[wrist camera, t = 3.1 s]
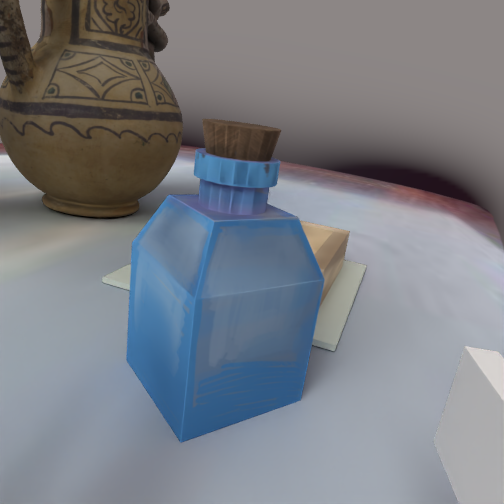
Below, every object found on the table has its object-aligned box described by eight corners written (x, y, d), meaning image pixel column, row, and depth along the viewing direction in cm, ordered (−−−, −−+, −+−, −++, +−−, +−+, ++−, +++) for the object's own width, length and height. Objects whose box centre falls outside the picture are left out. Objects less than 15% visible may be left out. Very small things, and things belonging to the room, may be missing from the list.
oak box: (142, 275, 31) (145, 231, 30) (215, 235, 42) (218, 202, 41) (311, 322, 28) (320, 275, 27) (342, 266, 39) (349, 231, 38)
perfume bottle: (231, 337, 26) (260, 122, 22) (300, 400, 21) (352, 141, 17) (126, 360, 22) (138, 109, 18) (180, 443, 17) (212, 128, 14)
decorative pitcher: (71, 252, 34) (71, -141, 26) (-67, 203, 41) (-100, -120, 33) (215, 210, 53) (241, -28, 45) (103, 181, 60) (109, -29, 52)
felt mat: (102, 282, 30) (102, 276, 30) (205, 231, 44) (206, 227, 44) (334, 351, 25) (335, 345, 25) (365, 269, 40) (366, 265, 40)
